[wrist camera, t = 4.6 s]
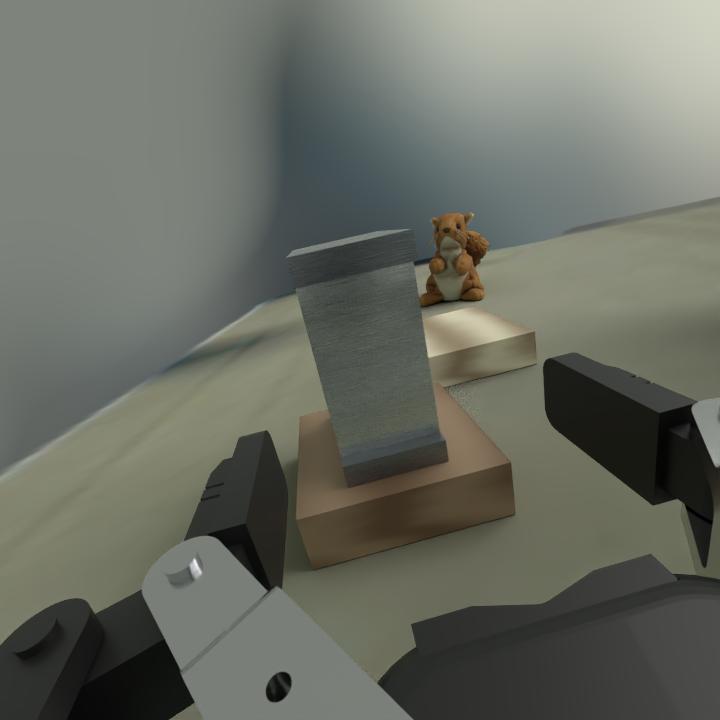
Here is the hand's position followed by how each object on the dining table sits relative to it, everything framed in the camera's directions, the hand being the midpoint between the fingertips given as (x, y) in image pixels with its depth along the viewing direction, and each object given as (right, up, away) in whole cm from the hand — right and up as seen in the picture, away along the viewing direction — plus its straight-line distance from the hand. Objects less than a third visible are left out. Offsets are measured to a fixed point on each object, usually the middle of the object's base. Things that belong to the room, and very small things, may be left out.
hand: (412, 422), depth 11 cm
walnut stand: (0, -5, +12) cm, 13 cm away
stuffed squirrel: (+15, +13, +53) cm, 56 cm away
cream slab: (+7, +2, +27) cm, 28 cm away
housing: (0, -2, +11) cm, 11 cm away
